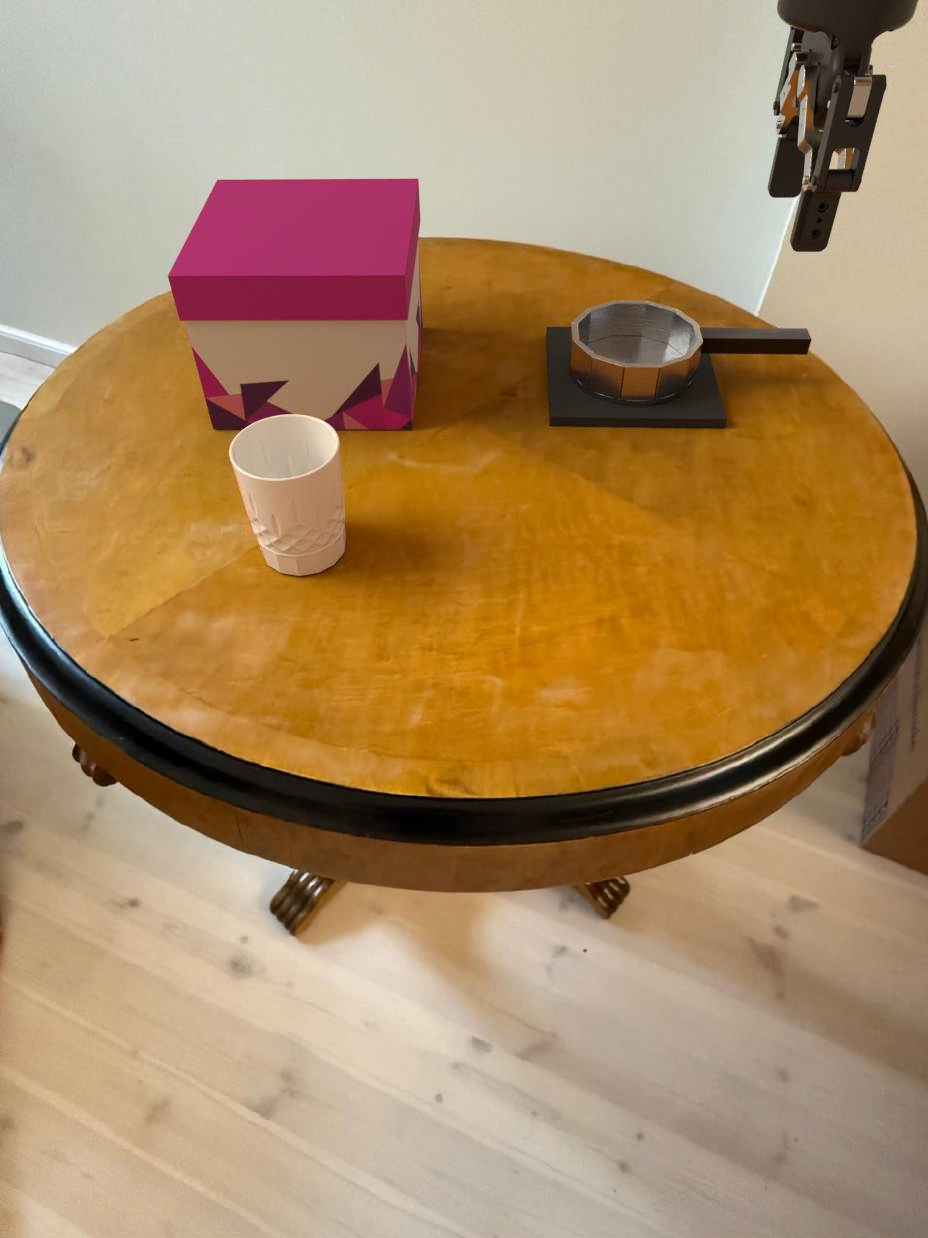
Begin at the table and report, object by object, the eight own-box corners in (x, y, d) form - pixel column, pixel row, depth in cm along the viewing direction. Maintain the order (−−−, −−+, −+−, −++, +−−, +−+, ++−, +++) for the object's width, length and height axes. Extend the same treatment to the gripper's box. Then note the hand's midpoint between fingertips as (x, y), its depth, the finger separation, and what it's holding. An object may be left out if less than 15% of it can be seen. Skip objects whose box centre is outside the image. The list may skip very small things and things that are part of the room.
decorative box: (425, 325, 95) (418, 178, 84) (415, 432, 82) (404, 275, 71) (247, 325, 95) (217, 179, 84) (209, 431, 83) (167, 275, 72)
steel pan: (571, 405, 83) (574, 366, 80) (566, 337, 91) (569, 299, 88) (811, 408, 82) (824, 369, 79) (785, 339, 90) (796, 301, 87)
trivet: (700, 336, 93) (702, 327, 92) (724, 428, 82) (727, 419, 81) (546, 335, 93) (546, 326, 93) (549, 425, 83) (550, 416, 82)
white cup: (320, 594, 68) (301, 491, 61) (235, 564, 71) (206, 462, 63) (371, 531, 73) (359, 429, 66) (289, 505, 75) (269, 403, 68)
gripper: (982, -57, 43) (878, 270, 55) (902, -108, 53) (828, 179, 65) (822, -53, 44) (753, 270, 55) (772, -105, 53) (723, 179, 65)
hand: (794, 220), depth 60 cm, fingers open, 8 cm apart
